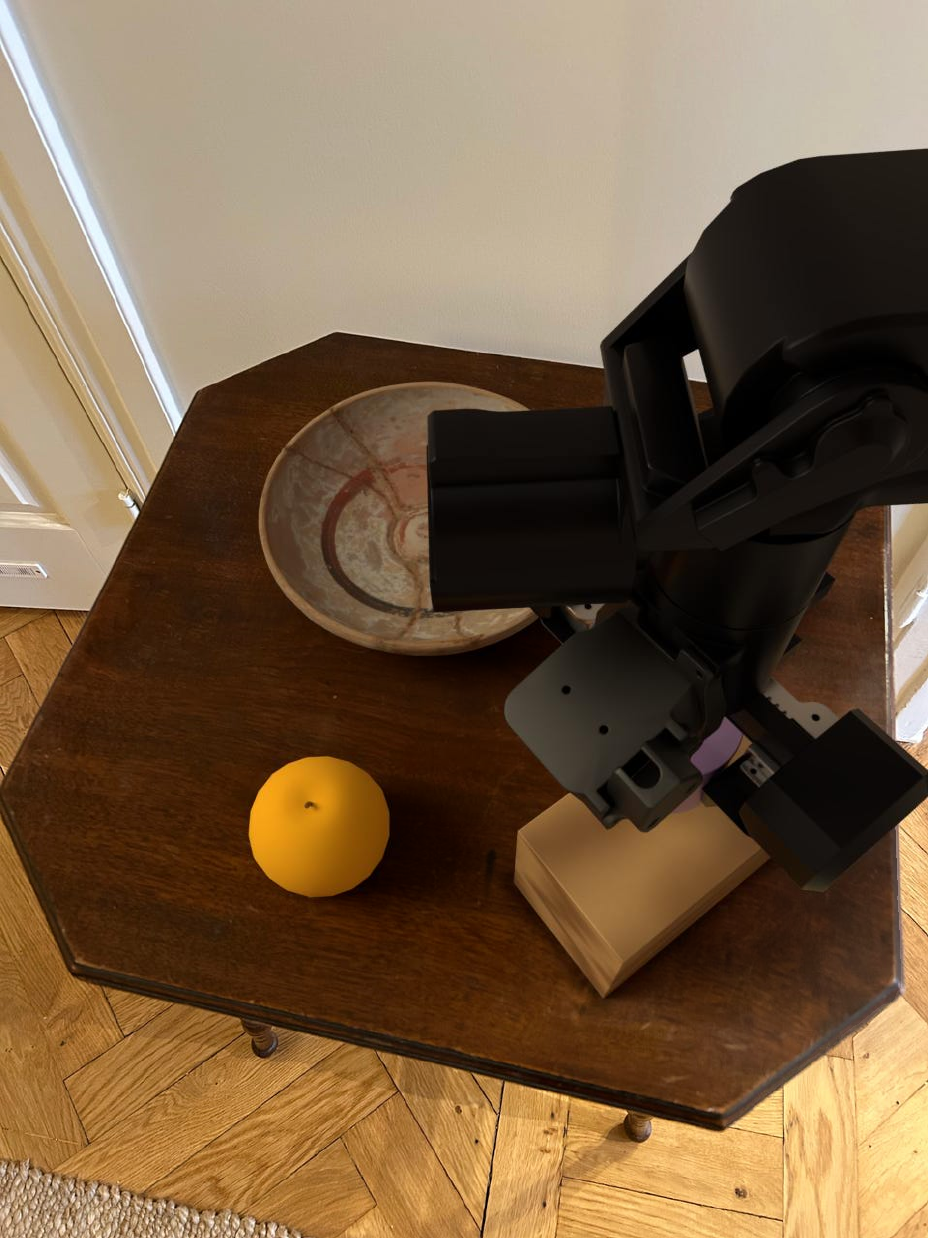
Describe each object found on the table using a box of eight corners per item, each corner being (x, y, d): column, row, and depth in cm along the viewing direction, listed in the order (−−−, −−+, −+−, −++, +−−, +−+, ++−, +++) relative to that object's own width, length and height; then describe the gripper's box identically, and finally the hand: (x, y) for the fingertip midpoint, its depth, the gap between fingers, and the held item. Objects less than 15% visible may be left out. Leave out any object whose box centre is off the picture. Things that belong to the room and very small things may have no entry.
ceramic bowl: (236, 667, 62) (218, 628, 57) (308, 417, 74) (297, 370, 70) (578, 698, 60) (585, 660, 56) (592, 436, 72) (599, 389, 68)
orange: (404, 789, 57) (393, 739, 50) (383, 918, 52) (369, 880, 46) (279, 777, 57) (252, 725, 51) (249, 902, 53) (216, 863, 47)
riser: (804, 829, 55) (854, 770, 47) (603, 999, 50) (623, 964, 42) (709, 733, 58) (742, 664, 51) (513, 882, 53) (517, 831, 46)
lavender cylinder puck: (750, 765, 44) (773, 725, 40) (659, 839, 42) (675, 804, 38) (663, 680, 47) (677, 634, 43) (574, 745, 45) (581, 704, 41)
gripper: (383, 508, 33) (417, 705, 46) (775, 932, 24) (679, 1024, 37) (614, 371, 36) (584, 592, 49) (1029, 702, 28) (859, 861, 41)
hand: (663, 749), depth 44 cm, fingers closed on lavender cylinder puck, 6 cm apart
